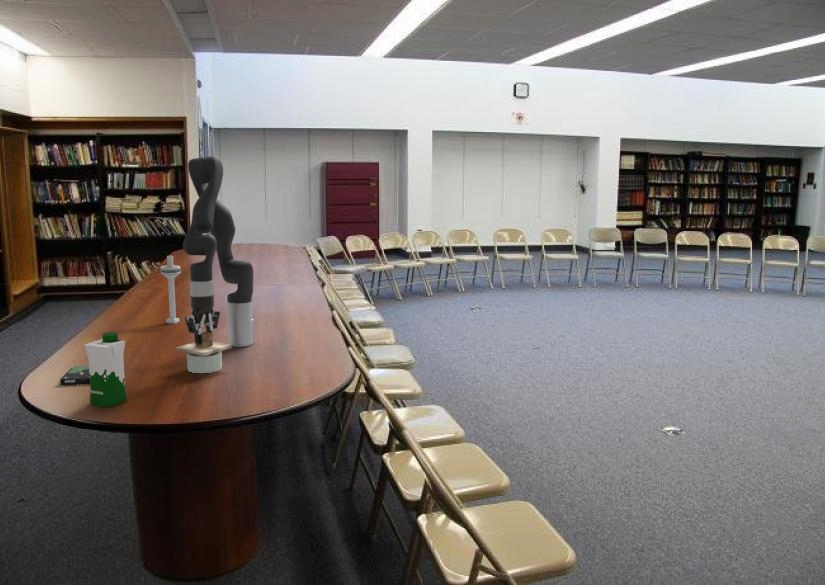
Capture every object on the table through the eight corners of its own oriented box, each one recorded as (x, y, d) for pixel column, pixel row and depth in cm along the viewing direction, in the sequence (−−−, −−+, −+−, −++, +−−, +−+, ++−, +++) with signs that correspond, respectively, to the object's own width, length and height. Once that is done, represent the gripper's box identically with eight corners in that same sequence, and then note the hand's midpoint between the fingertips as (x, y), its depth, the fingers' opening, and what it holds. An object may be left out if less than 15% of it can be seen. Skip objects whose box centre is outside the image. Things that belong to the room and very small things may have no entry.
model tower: (185, 320, 303) (183, 255, 298) (177, 324, 295) (174, 257, 289) (168, 320, 303) (165, 254, 298) (159, 323, 295) (156, 256, 290)
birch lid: (204, 342, 236) (204, 327, 235) (232, 347, 229) (231, 332, 229) (175, 350, 225) (174, 334, 224) (203, 356, 218) (202, 339, 217)
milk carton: (131, 399, 196) (128, 333, 193) (108, 409, 188) (103, 340, 185) (108, 395, 199) (104, 330, 196) (84, 405, 191) (79, 337, 188)
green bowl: (205, 363, 236) (204, 346, 235) (228, 367, 230) (227, 351, 229) (180, 370, 226) (180, 353, 225) (204, 375, 221) (203, 358, 220)
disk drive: (96, 386, 210) (106, 372, 225) (95, 377, 210) (105, 364, 224) (60, 387, 208) (72, 373, 222) (59, 379, 208) (72, 365, 222)
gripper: (209, 289, 232) (211, 337, 235) (177, 295, 219) (179, 346, 222) (225, 291, 228) (227, 340, 231) (193, 297, 216) (195, 349, 219)
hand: (203, 343), depth 227 cm, fingers closed on birch lid, 4 cm apart
